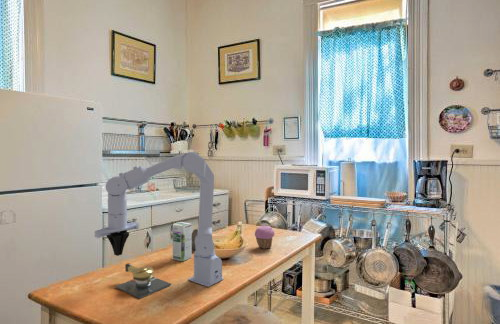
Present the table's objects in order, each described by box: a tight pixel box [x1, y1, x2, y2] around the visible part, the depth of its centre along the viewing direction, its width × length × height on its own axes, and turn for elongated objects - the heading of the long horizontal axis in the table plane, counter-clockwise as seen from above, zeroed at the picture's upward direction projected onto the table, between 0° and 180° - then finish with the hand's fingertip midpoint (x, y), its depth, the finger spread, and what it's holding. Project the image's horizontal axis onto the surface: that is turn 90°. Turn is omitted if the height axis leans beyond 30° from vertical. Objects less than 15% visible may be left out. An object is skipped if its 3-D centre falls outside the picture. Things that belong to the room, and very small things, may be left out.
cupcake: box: [254, 225, 275, 250], centre depth 149 cm, size 9×9×10 cm
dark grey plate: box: [114, 276, 172, 300], centre depth 108 cm, size 13×12×3 cm
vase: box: [192, 228, 198, 252], centre depth 147 cm, size 7×7×9 cm
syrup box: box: [172, 221, 193, 262], centre depth 134 cm, size 6×6×14 cm
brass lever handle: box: [124, 263, 155, 280], centre depth 109 cm, size 12×6×2 cm, turn 54°
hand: (118, 254), depth 108 cm, fingers closed
